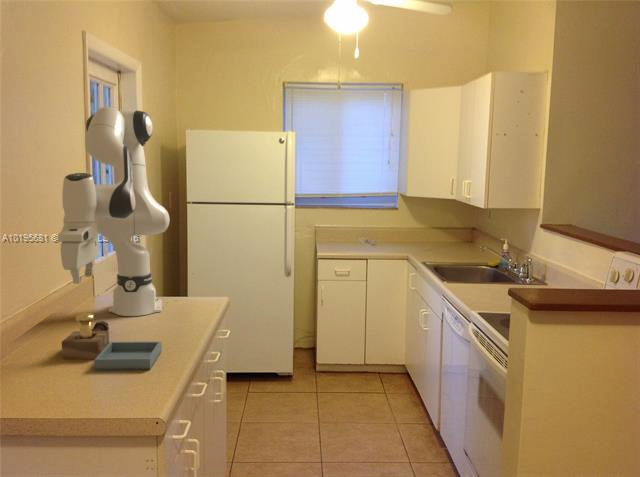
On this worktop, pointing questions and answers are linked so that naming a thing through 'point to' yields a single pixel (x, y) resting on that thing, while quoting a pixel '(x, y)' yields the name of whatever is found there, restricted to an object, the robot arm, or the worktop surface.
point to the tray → (128, 356)
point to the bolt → (100, 326)
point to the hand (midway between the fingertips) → (83, 279)
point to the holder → (84, 345)
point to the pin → (85, 325)
